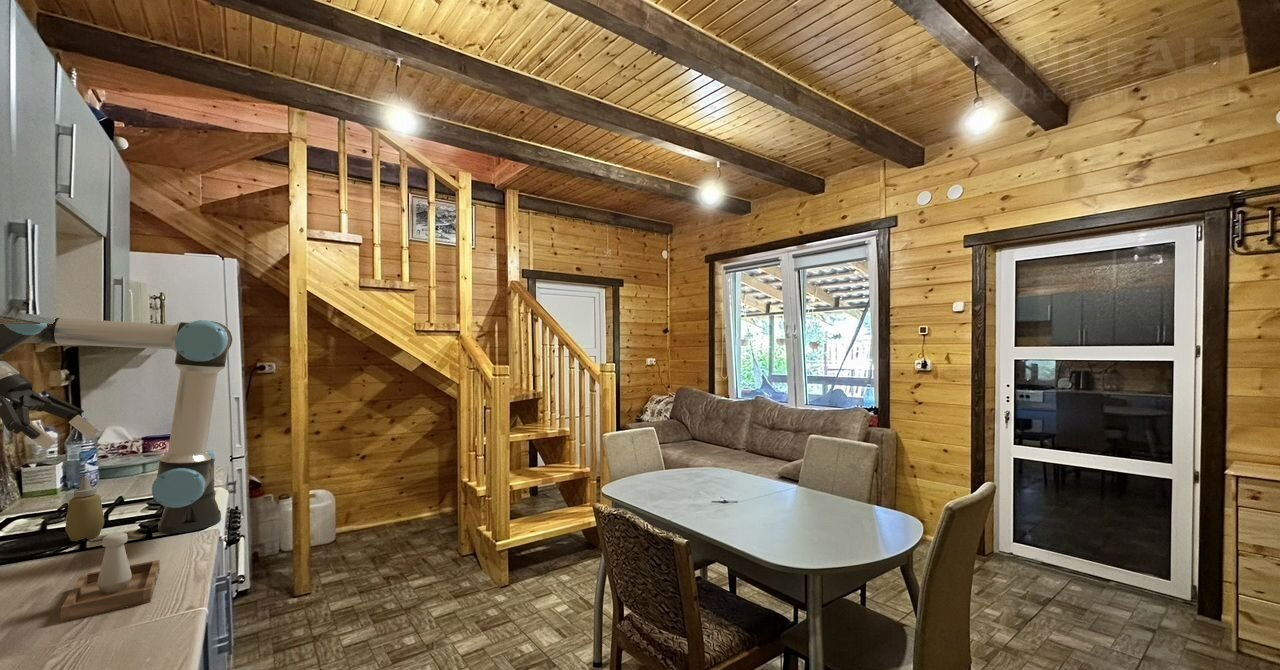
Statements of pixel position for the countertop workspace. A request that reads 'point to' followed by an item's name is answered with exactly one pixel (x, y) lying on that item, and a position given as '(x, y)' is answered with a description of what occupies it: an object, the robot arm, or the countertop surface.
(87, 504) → the squeeze bottle
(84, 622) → the countertop surface
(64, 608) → the walnut tray
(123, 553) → the salt shaker
